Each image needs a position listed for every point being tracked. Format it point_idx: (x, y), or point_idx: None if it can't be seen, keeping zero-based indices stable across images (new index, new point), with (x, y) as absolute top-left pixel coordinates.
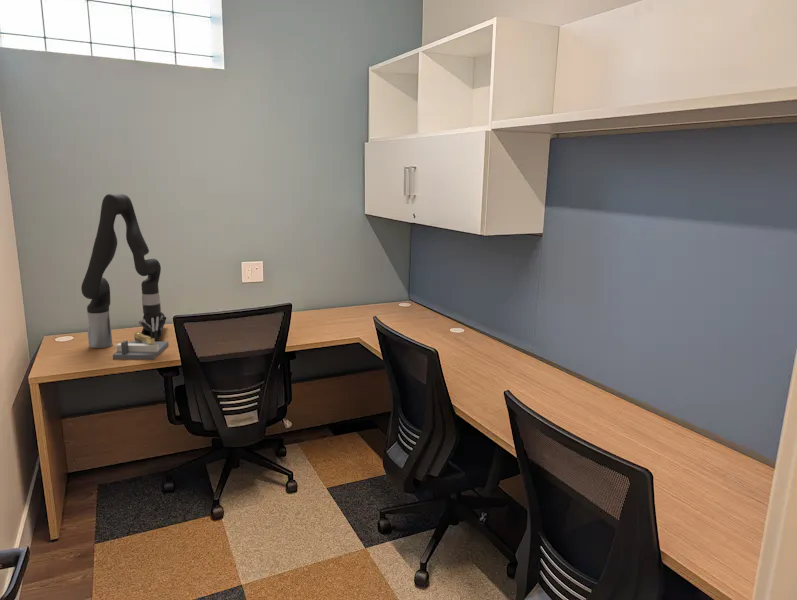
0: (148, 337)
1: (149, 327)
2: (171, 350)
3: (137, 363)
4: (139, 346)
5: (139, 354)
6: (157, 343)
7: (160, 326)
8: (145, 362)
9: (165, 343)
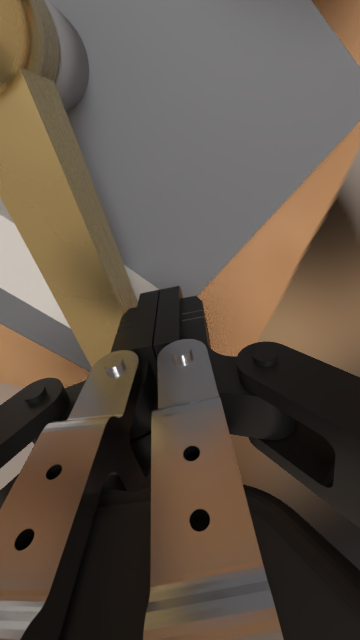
0: (93, 320)
1: (83, 418)
2: (289, 265)
3: (20, 374)
4: (14, 290)
5: (27, 325)
6: (254, 96)
7: (284, 440)
8: (65, 382)
9: (316, 157)
